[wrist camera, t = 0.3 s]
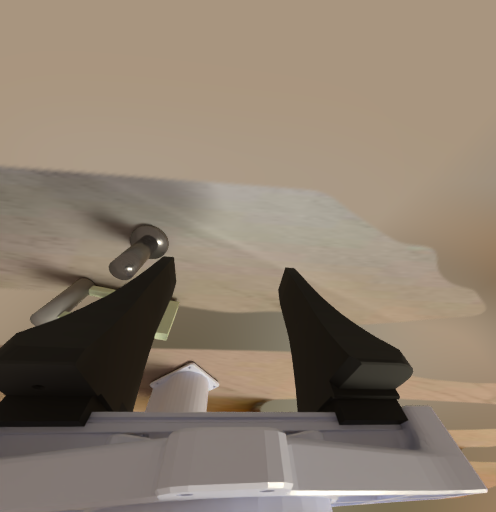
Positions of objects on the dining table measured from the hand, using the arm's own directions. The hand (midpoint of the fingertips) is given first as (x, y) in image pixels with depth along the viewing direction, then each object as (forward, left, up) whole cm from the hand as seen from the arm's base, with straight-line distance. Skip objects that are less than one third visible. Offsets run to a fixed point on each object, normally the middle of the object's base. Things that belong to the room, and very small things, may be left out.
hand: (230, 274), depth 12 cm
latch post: (-9, +3, -11) cm, 14 cm away
